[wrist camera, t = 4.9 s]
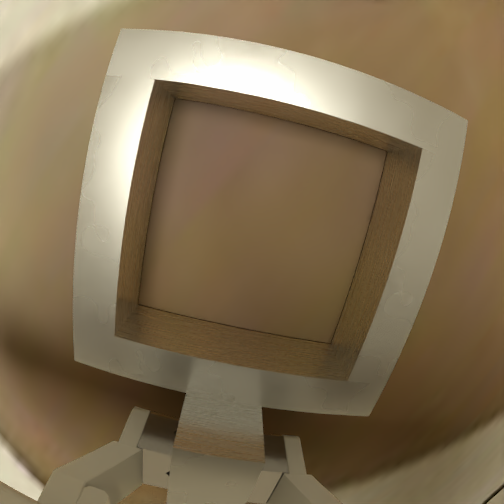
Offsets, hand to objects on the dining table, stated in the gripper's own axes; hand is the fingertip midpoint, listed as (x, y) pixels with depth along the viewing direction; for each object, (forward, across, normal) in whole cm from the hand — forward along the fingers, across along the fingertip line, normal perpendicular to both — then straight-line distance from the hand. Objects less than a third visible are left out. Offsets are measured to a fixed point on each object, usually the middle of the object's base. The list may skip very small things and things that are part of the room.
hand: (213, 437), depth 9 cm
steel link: (+2, 0, +4) cm, 4 cm away
